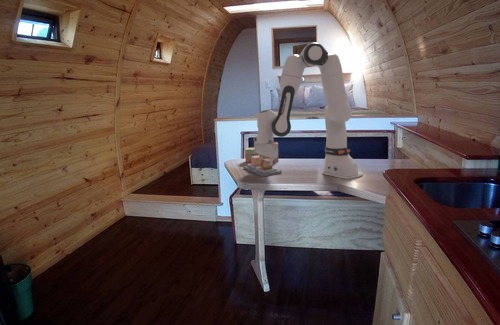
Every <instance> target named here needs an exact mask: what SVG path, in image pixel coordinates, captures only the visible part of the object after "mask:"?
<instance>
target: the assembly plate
mask: <svg viewBox="0 0 500 325" xmlns="http://www.w3.org/2000/svg"><path fill="white" fill-rule="evenodd" d="M246 164H247V165H244V166H243V168H244V170H245V169H246V171H248V172H250V173H252V174H254V175H257V176H259V177H262V178H264V177H268V176H274V175H279V174H282V169H281V170H280V168H279V169H278V168H277V167H274V166H272V169H269V170H262V169H260V158H259V156H252V157H251V163H246Z"/></svg>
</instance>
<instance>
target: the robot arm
mask: <svg viewBox="0 0 500 325" xmlns="http://www.w3.org/2000/svg"><path fill="white" fill-rule="evenodd" d="M310 67H311V68H312V67H317V68H318V69H319V71H320V78H321V85H322V90H323V95H324V97H325V100H326V105H325V107H324V111H323V112H324V122H325V123H324V124H325V125H324V126H325V136H326V137H325V138H326V140H325V141H326V142H325V146H324V147H325V148H324V153H325V157H324V161H323V167H322V172H321V174H323V175H326V176H330V177H335V178H339V179H343V180H345V179H348V180H349V179H357V178H360V177H362V176H363V175H364V174H363V172H360V171H359V164H358V163H357V162H356V161H355V159H353V157H351V155H350V152H351V150H350V149H349V148H348V142H347V141H348V132H347V126H346V123H347V122H348V121H349V120H350V119H351V118H352V115H353V111H352V108H351V104H350V101H349V98H348V94H347V91H346V86H345V81H344V80H345V79H344V73H343V67H342V63H341V60H340V58H339V56H338V54H336V53H332V52H331V53H329V52H328V51H327V50H326V48H325V47H324V46H323V45H322V44H321V43H319V42H310V43H308V44H307V45H306V46H305V47H304V48H303V49H302V50H301V52H300V53H299V54H289V55H288V56H287V57H286V59H285V62H284V64H283V68H282V71H281V75H280V83H279V85H280V86H279V87H280V102H279V105H278V106H279V107H278V111H277V112H275V111H273V110H272V109H265V110H261V111H260V112H258V114H257V122H256V124H257V135H256V136H254V137H253V141H254V142H253V148H254V150H255V153H258V154H259V158H260V160H262V159H263V156H262V155H264V156H267V157H269V159H270V161H269V165H272V166H273V164H274V162H273V160H274V158H277V157H278V158H279V153H278V148H279V147H278V148H277V145H276V143H275V142H276V141H275V140H274V135H275V136H277V137H279V138H281V137H282V138H283V137H286V136H287V135H288V134H289V133H290V132H291V129H292V125H291V124H292V123H291V113H292V112H291V111H292V106H293V102H294V100H295V97H296V95H297V93H298V91H299V89H300V86H301V83H302V80H303V79H302V78H303V74H304V71H305V69H306V68H310Z"/></svg>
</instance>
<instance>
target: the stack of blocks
mask: <svg viewBox="0 0 500 325" xmlns="http://www.w3.org/2000/svg"><path fill="white" fill-rule="evenodd" d="M274 142H275V143H276V145H277V148H278V154H279V152H280V151H279V142H278V141H274ZM244 153H245V154H244V157H245V163H246V164H251V157H252V156H259V154H258V153H255V150H254V147H245V148H244ZM262 156H263V159H269V157H267V156H264V155H262ZM278 162H279V156H278V157H277V158H274V160H273V163H278Z"/></svg>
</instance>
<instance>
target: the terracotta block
mask: <svg viewBox="0 0 500 325" xmlns="http://www.w3.org/2000/svg"><path fill="white" fill-rule="evenodd" d="M269 161H270V159H262V160H260V169H262V170H269V169H272V167H273V165H269Z"/></svg>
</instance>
